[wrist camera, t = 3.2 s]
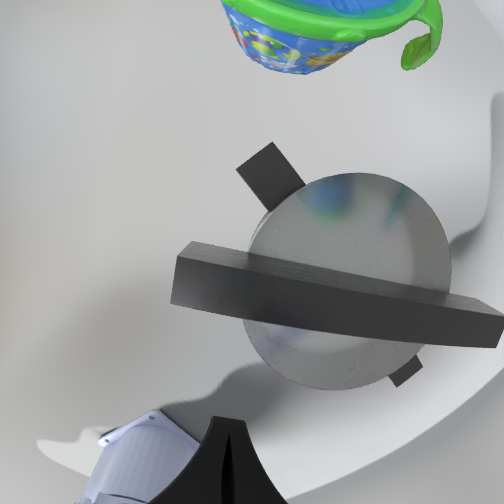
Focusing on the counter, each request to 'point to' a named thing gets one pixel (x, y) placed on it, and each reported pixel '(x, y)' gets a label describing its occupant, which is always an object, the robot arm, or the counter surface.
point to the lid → (339, 284)
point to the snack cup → (327, 30)
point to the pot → (275, 191)
